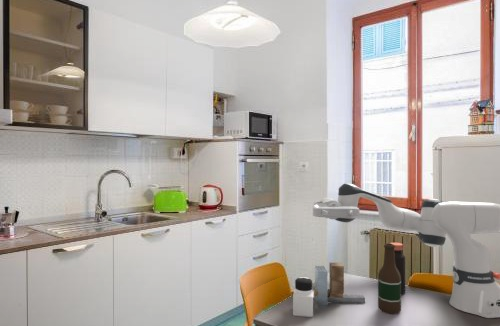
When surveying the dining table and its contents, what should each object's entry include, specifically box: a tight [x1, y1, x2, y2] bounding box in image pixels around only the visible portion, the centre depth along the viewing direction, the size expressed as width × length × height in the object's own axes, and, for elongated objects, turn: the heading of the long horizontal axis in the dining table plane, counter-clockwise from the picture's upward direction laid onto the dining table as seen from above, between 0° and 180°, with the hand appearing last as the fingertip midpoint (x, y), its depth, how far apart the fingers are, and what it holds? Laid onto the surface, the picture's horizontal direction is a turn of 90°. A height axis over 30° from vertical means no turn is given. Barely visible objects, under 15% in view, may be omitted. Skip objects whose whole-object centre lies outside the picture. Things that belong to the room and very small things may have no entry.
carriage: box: [327, 262, 345, 298], centre depth 131 cm, size 8×4×12 cm, turn 89°
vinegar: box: [389, 242, 406, 296], centre depth 140 cm, size 7×7×20 cm
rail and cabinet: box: [314, 265, 366, 308], centre depth 129 cm, size 18×7×13 cm, turn 89°
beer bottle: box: [377, 242, 402, 315], centre depth 123 cm, size 8×8×24 cm
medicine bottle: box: [292, 276, 315, 318], centre depth 121 cm, size 7×7×12 cm
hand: (339, 214), depth 143 cm, fingers open, 8 cm apart
